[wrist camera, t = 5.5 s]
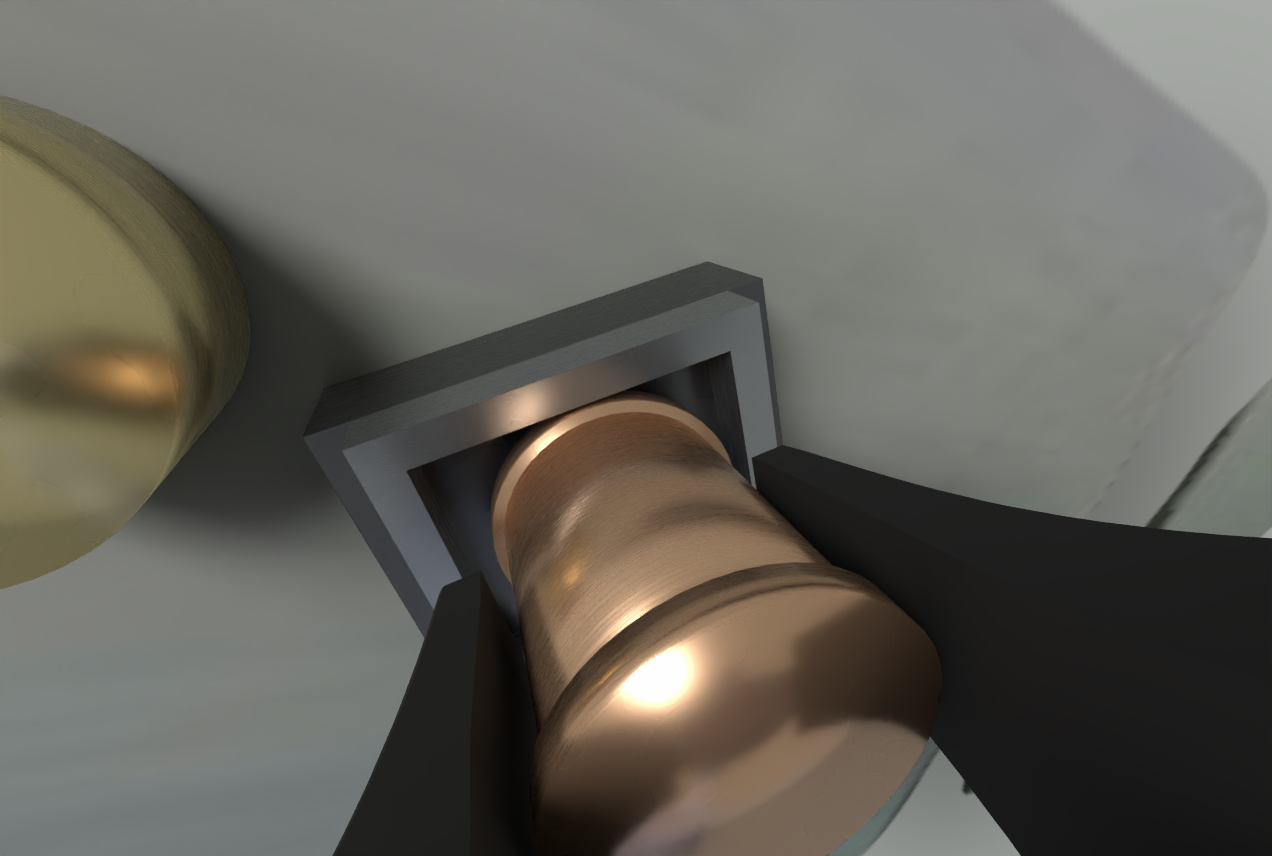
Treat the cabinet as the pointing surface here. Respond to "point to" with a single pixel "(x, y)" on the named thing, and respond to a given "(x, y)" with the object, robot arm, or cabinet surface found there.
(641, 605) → the copper flared cylinder
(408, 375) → the gray square open box
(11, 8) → the cabinet surface
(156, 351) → the gold short rounded piece
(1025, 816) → the robot arm
